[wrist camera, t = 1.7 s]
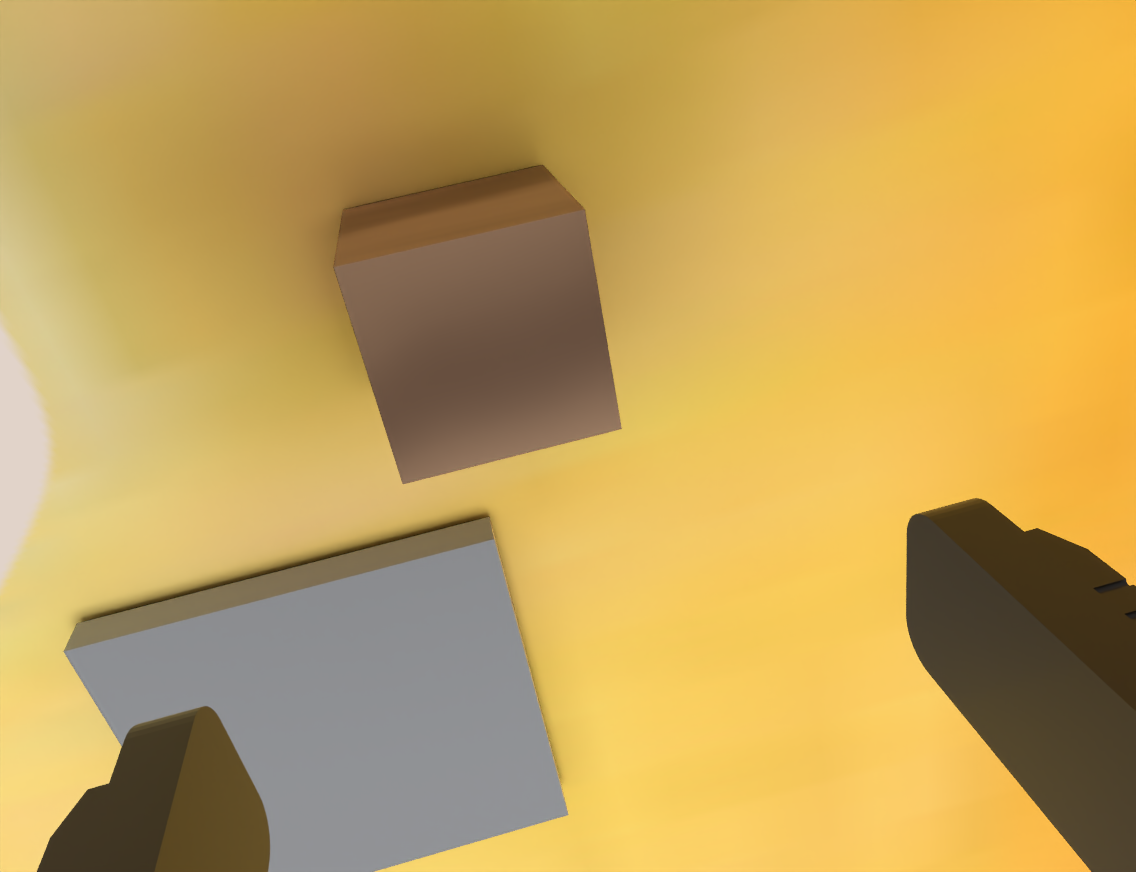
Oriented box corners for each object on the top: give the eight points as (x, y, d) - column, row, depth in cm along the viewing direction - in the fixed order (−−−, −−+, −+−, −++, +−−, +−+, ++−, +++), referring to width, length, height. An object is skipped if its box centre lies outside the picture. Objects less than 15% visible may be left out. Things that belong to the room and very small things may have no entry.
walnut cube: (343, 209, 21) (333, 267, 17) (542, 165, 21) (584, 209, 17) (398, 391, 23) (403, 484, 19) (577, 348, 24) (621, 429, 19)
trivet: (77, 623, 25) (63, 651, 23) (489, 516, 26) (494, 539, 24) (230, 882, 30) (225, 914, 29) (562, 787, 31) (568, 814, 30)
